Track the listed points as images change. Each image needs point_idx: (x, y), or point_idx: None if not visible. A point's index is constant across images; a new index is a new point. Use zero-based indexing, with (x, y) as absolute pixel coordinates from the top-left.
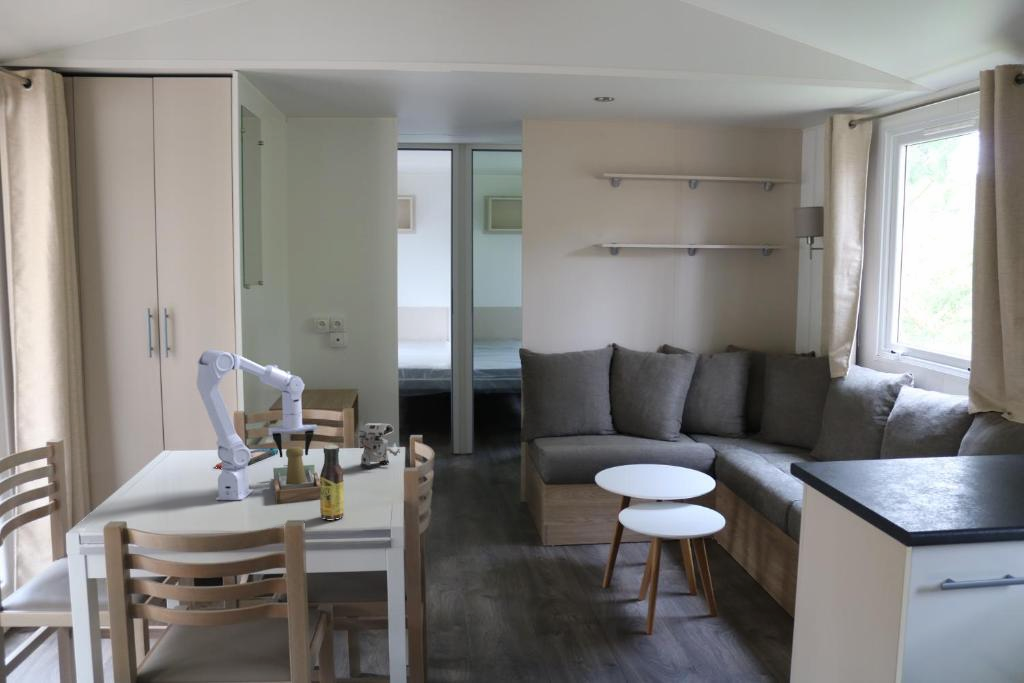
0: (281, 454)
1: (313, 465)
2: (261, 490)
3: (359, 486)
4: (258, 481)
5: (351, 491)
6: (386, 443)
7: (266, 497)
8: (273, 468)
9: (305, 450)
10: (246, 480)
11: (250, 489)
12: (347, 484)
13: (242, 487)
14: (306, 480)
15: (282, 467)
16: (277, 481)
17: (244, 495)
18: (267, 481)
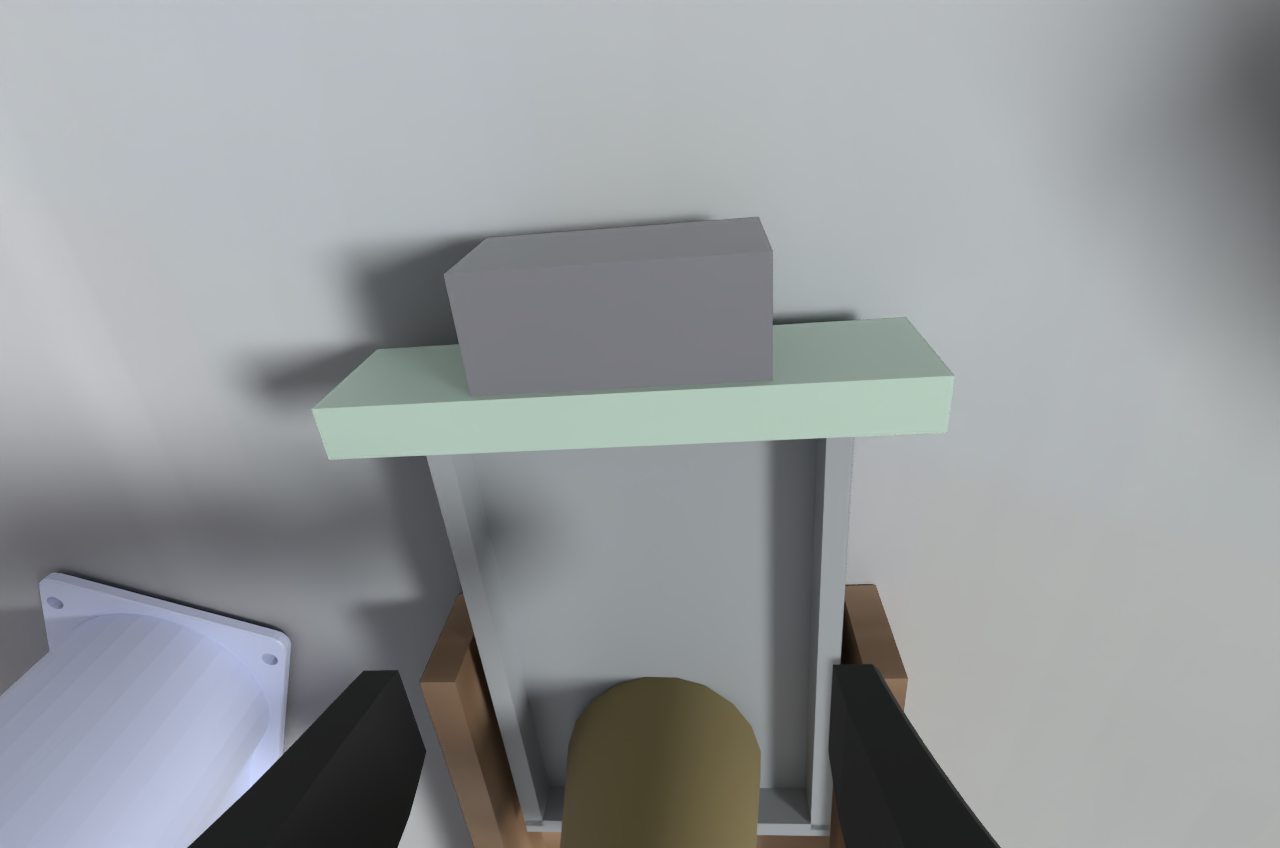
0: (393, 814)
1: (928, 428)
2: (354, 625)
3: (1233, 758)
4: (216, 324)
5: (1106, 837)
6: None
7: (443, 780)
8: (330, 458)
9: (849, 822)
10: (195, 838)
11: (253, 640)
12: (1156, 683)
13: (210, 822)
14: (769, 639)
15: (453, 447)
16: (487, 816)
17: (264, 757)
18: (325, 355)
